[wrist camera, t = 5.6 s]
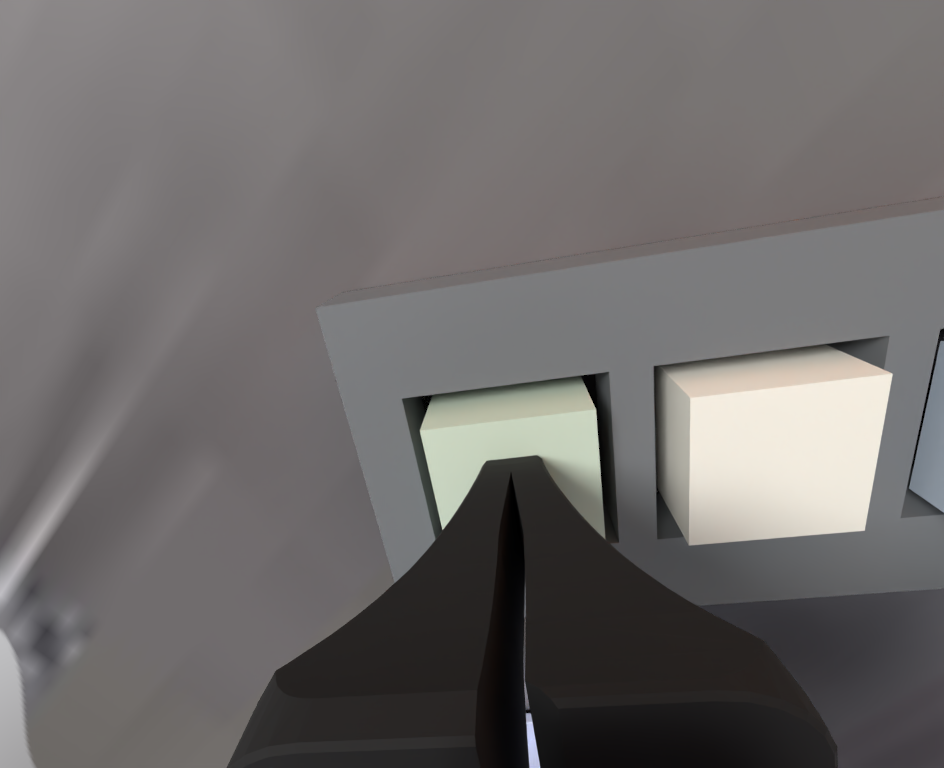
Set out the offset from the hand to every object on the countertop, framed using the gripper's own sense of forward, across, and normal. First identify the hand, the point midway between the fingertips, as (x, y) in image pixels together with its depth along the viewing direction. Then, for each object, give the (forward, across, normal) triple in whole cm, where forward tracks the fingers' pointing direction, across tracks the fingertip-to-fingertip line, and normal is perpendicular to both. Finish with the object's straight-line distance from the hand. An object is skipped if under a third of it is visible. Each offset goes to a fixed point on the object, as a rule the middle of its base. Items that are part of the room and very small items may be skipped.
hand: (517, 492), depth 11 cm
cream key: (+2, -6, 0) cm, 7 cm away
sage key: (+2, 0, 0) cm, 2 cm away
